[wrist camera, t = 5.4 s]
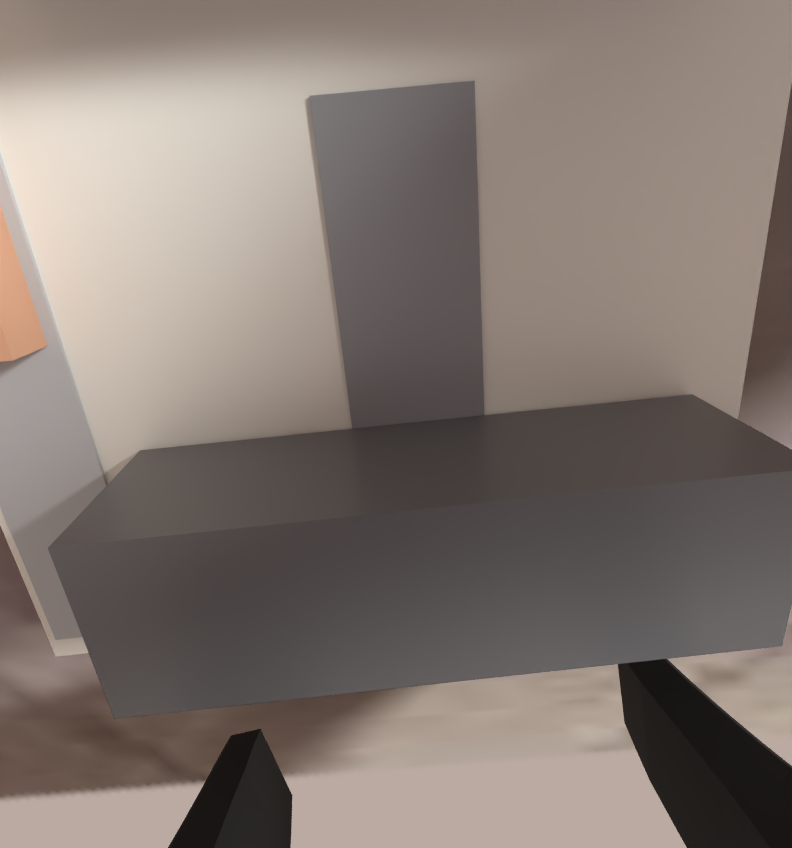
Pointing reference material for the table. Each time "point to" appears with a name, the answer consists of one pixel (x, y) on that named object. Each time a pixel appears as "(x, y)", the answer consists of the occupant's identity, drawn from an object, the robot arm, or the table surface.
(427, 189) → the switch panel
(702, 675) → the table surface
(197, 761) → the table surface
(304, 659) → the slider
